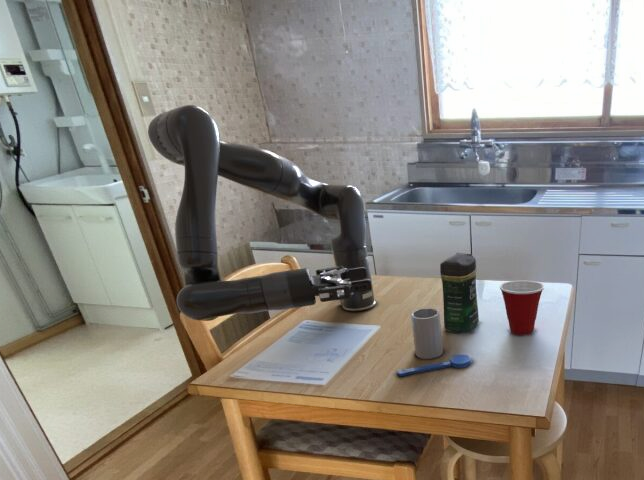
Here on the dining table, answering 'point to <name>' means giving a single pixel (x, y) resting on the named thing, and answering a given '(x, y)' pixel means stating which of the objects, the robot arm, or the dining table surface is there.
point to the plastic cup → (521, 304)
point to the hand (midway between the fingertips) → (368, 277)
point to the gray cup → (427, 333)
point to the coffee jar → (459, 293)
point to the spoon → (439, 365)
